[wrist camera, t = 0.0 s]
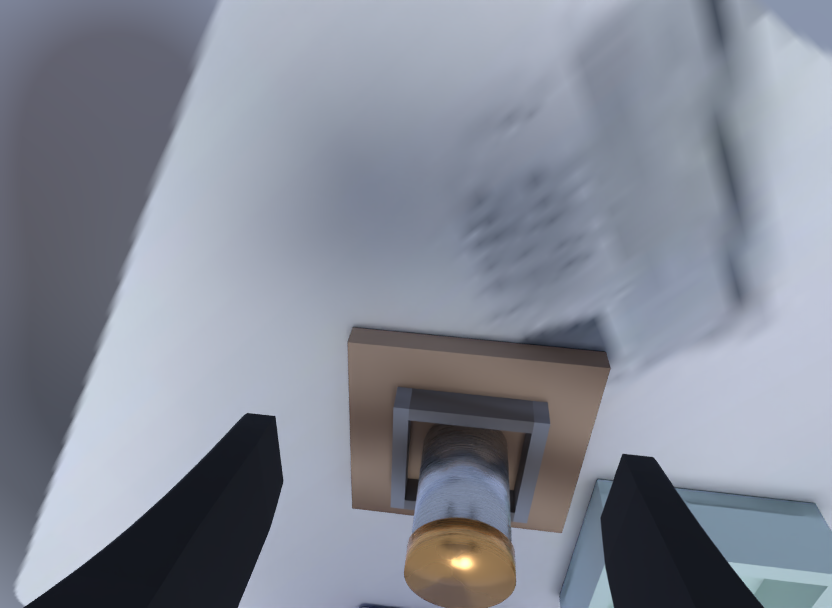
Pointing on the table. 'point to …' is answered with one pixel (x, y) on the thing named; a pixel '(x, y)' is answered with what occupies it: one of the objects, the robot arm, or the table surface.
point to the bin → (727, 549)
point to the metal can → (462, 520)
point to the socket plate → (471, 415)
